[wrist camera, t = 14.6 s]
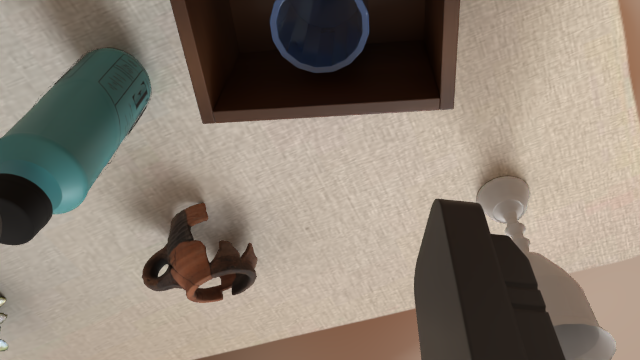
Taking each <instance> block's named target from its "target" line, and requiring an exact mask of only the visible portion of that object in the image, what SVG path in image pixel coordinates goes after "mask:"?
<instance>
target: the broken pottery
mask: <svg viewBox="0 0 640 360" xmlns="http://www.w3.org/2000/svg"><path fill="white" fill-rule="evenodd" d="M207 220H208V215H207V212H206V206H205V203H201V204H196V205H193V206H190V207H189V208H186V209H185V210H183V211H181V212H180V213H178V214H177V215H176V216H175V217H174V218H173V220H172V222H171V229H170V233H169V238H168V243H167V244H166V246H165V247H164V248H163V249H161V250H160V251H158V252H157V253H155V254H154V255H153V256H152V257H151V258H150V259H149V260H148V261H147V263H146V264H145V266H144V269H143V275H142V278H143V280H144V284H145V285H146V286H147V287H148V288H150V289H152V290H154V291H164V290H168V289H172V288H181V289H182V288H183V289H184V290H186V295H187V298H188V299H189V300H191V301H193V302H199V303H206V302H215V301H220V300H222V299H223V294H222V291H224V290H227V289H230V288H232V295H236V294H239V293H241V292H243V291H245V290H246V289H248V288H249V287H250V286H251V285H252V284H253V283H254V281H255V279H256V277H257V276H256V272H255V270H254V268H255V266H256V264H257V257H256V256H255V254H254V251H253V247H252V244H251V243H249V244H248V246H247V249H246V251H245V252H244V253H243V255H242V256H241V258H240V254H239V252H238V251H237V250H236V249H235V248H234V247H233V246H232V244H231V243H230V242H228V241H224V240H221V241H220V242H219V250H218V252H217V254H216V256H215V258H214V259H213V260H212V261H211V263H209V261H208V258H207V254H206V247H205V246H204V245H203V243H202V242H201V241H198V240H194V239H193V236H192V234H191V231H190V230H191V226H194V225H195V224H198V223H200V222H203V221H207ZM166 264H168V265H169V267H168V269H167V270H166V272H165V273H164V274H163V275H162V276H160V277H158V273H159V271H160V269H161V268H162V267H163V266H164V265H166ZM216 277H220V278H221V285H219V286H215V287H210V288H205V289H203V288H198V287H199V286H200V285H202V284H203V283H205V282H207V281H209V280H211V279H212V278H216Z"/></svg>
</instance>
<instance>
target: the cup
mask: <svg viewBox="0 0 640 360" xmlns="http://www.w3.org/2000/svg"><path fill="white" fill-rule="evenodd" d="M269 22H270V29H271V35H272V40H273V42H274V44H275V45H276V47H277V49H278V50H279V52H280V54H281V55H282V56H283V57H284V58H285V59H286V60H288V61H289V62H290V63H292V64H293V65H294V66H295V67H297V68H299V69H303V70H306V71H309V72H312V73H326V72H334V71H337V70H339V69H341V68H343V67H345V66H347V65H349V64H351V63H352V62H353V61H354V60H355V58H356V57H357V56H358V55H359V54H360V53H361V52H362V51H363V49H364V46H365V44H366V41H367V38H368V36H369V32H370V30H369V8H368V0H275V1H274V4H273V8H272V12H271V16H270V21H269Z"/></svg>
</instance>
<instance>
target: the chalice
mask: <svg viewBox="0 0 640 360" xmlns="http://www.w3.org/2000/svg"><path fill="white" fill-rule="evenodd" d="M529 197H530V190H529V187H528V185H527V184H526V182H524V181H523V180H521V179H520V178H516V177H512V176H503V177H499V178H495V179H493V180H491V181H489V182H487V183H486V184H485V185H484V186H483V187H481V189H480V191H479V192H478V194H477V203H479V204H481V206H482V208H483V211H484V213H486V215H487V216H489V217H490V218H491V219H492V220H494V221H496V222H500V223H507V227H506V229H505V234H506V235H507V236H509V237H512V241H513V242H514V243H515V244H516V245H517V246H518V247H519V249H520V250H521V251H522V252H523V253H524V254H525V255H526V256H527V258H528V259H529V261H530V264H531V267H532V269H533V272H534V275H535V278H536V280H537V283H538V290H540V291H541V294H542V297H543V299H544V302H545V305H546V312H548V313H549V316H550V318H551V321H552V324H553V327H554V329H555V332H556V335H557V337H558V340H559V343H560V346H561V348H562V351H563V354H564V356H565V359H566V360H611V359H612V357H613V355H614V353H615V351H616V342H615V340H614V339H613V337H612V336H611V335H610V333H608V332H607V331H606V330H604V329H603V328H602V327H600V326H599V324H598V322H597V320H596V318H595V316H594V313H593V311H592V309H591V307H590V304H589V302H588V300H587V298H586V296H585V294H584V291H583V290H582V288H581V287H580V285H579V284H578V283H577V282H576V281H575V280H574V279H573V278H572V277H571V276H570V275H569V274H568V273H567V272H565V271H564V270H563V269H562V268H560V267H559V266H557V265H556V264H554V263H553V262H551V261H550V260H548V259H547V258H545V257H544V256H542V255H541V254H539V253H534V252H529V245H530V241H529V239H527V238H525V237H524V236H523V233H524V232H525V229H526V228H525V226H524V225H523V224H522V223H519V222H518V221H517V220H519V219H520V218H521V217H522V216H523V215H524V213H525V212H526V210H527V206H528V201H529Z"/></svg>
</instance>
